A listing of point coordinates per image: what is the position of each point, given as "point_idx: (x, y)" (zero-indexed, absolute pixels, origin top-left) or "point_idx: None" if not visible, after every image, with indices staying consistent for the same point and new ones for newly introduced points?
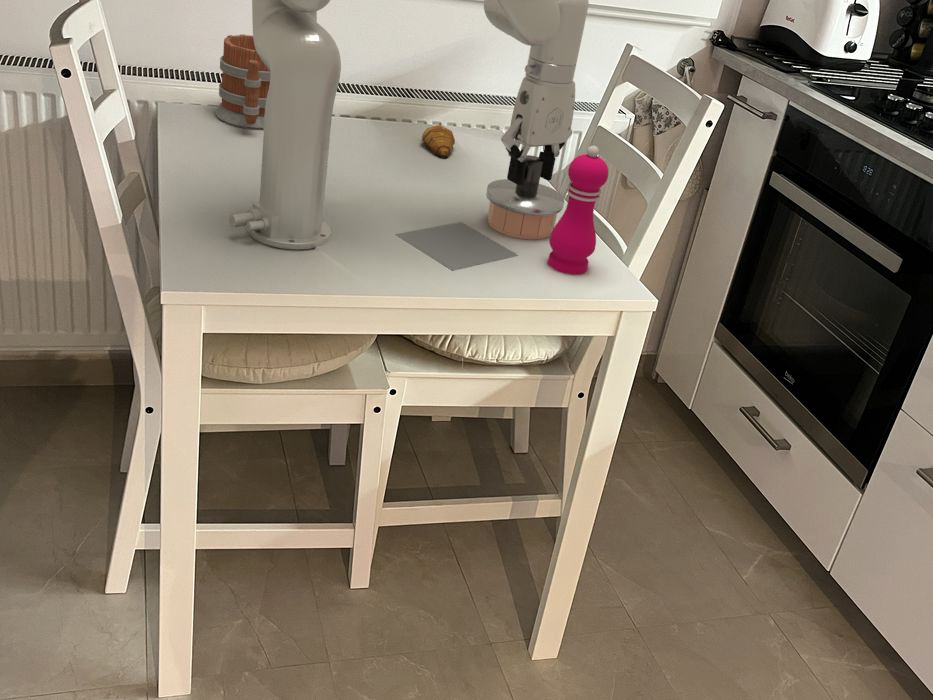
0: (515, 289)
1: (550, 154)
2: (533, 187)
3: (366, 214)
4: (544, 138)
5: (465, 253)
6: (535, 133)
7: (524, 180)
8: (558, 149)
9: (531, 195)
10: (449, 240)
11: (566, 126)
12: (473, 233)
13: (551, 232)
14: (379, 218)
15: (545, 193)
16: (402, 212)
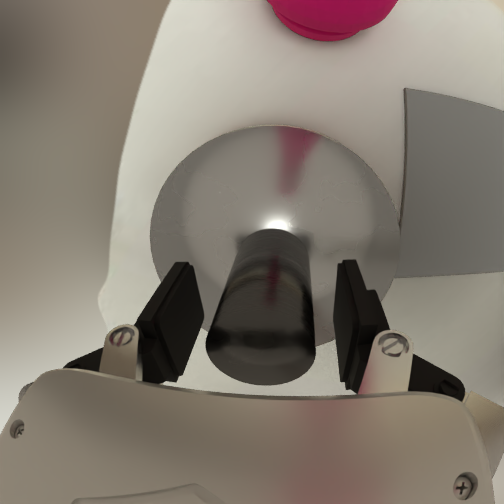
0: (482, 15)
1: (153, 347)
2: (278, 246)
3: (474, 338)
4: (300, 454)
5: (492, 157)
6: (441, 489)
7: (310, 281)
8: (108, 351)
9: (280, 233)
10: (477, 217)
11: (27, 458)
12: (416, 224)
13: (384, 15)
14: (474, 325)
15: (199, 242)
16: (433, 336)
